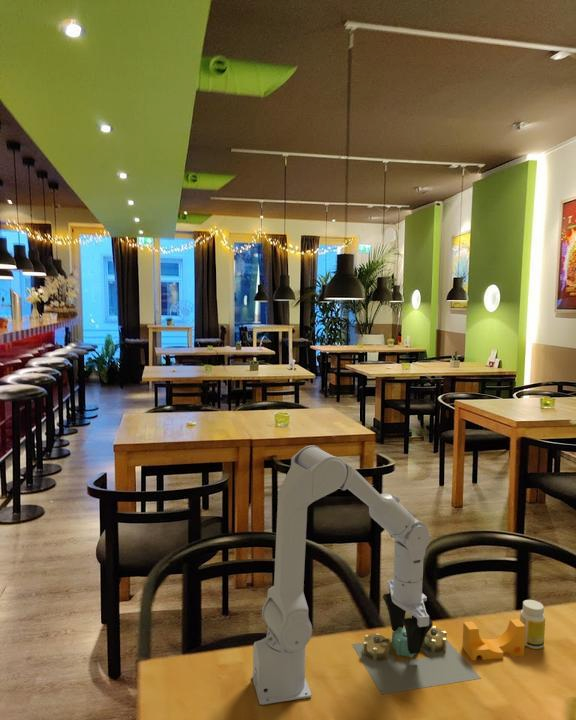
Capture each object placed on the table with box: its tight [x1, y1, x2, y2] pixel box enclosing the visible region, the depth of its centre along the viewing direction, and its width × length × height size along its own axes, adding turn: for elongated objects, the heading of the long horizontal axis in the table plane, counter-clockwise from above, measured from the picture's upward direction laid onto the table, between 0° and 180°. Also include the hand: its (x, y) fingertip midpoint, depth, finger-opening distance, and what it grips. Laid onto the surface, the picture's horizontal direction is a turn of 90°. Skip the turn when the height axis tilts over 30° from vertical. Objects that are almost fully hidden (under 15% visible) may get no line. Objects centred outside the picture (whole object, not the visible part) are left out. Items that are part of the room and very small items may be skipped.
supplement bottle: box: [519, 599, 546, 650], centre depth 113 cm, size 5×5×8 cm
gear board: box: [351, 625, 482, 695], centre depth 105 cm, size 20×15×4 cm
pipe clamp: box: [461, 618, 526, 661], centre depth 108 cm, size 12×4×6 cm, turn 97°
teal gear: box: [391, 627, 416, 659], centre depth 108 cm, size 5×5×4 cm
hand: (405, 640), depth 108 cm, fingers open, 7 cm apart
